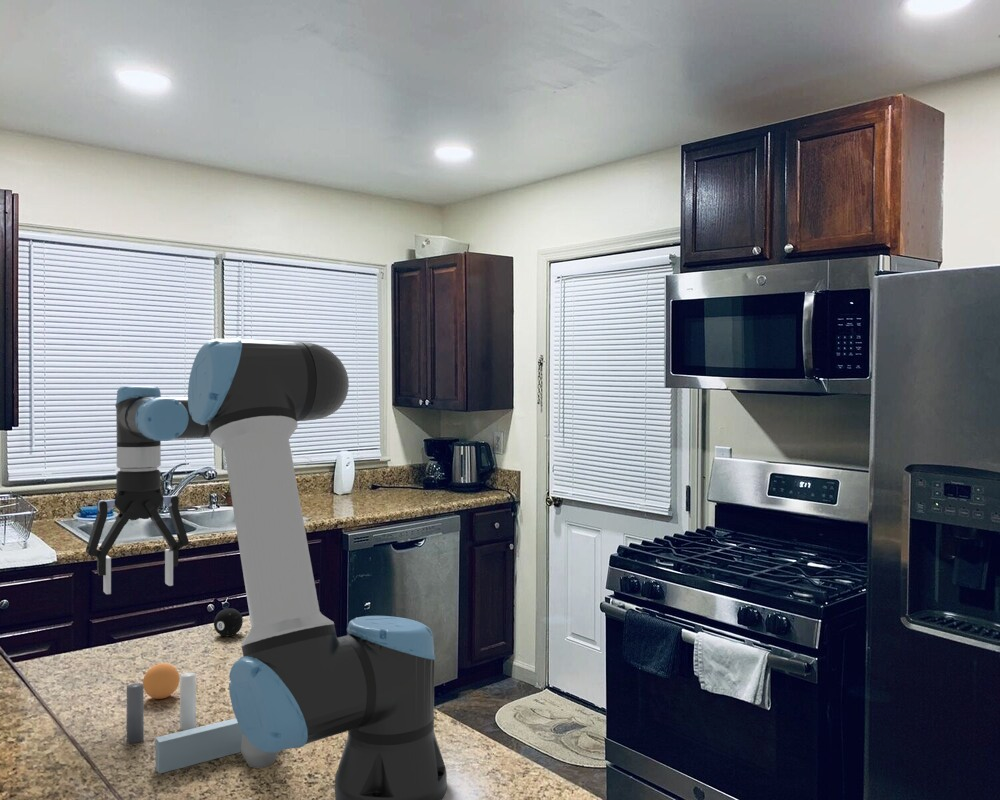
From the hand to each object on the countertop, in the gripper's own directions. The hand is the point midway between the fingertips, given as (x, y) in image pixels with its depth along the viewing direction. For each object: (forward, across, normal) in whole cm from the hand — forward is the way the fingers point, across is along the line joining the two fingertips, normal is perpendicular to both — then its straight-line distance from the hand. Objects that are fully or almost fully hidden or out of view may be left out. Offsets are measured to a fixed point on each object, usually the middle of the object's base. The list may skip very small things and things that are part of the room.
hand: (138, 588), depth 149 cm
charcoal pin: (+18, +6, +26) cm, 32 cm away
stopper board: (+18, -3, +38) cm, 43 cm away
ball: (+15, -2, +10) cm, 18 cm away
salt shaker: (+18, -7, +44) cm, 48 cm away
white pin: (+18, -2, +26) cm, 31 cm away
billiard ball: (+18, -24, -20) cm, 36 cm away
